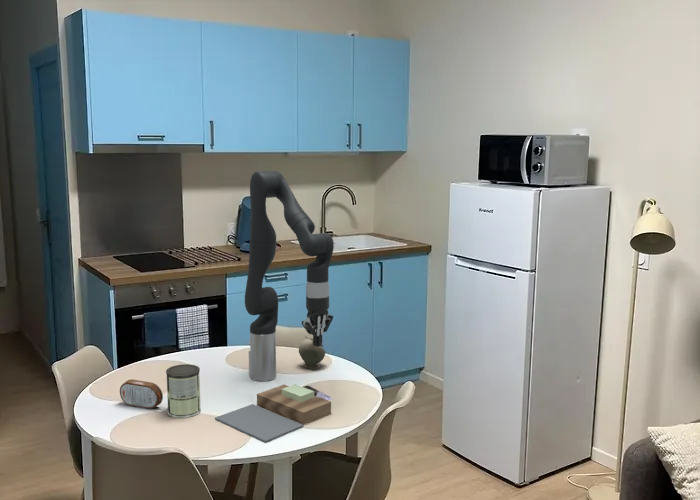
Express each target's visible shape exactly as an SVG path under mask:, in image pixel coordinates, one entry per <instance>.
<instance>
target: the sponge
mask: <svg viewBox="0 0 700 500" xmlns="http://www.w3.org/2000/svg"><path fill="white" fill-rule="evenodd" d="M288 386H289V387H286V388H284V389H282V395H283V396H285V397H288V398H291V399H293V400H296V401H299V402H303V401H306V400H308V399H311V398H314V391H312V390H309V389H307V388H304V387H303V386H301V385H298V384H292V385H288Z"/></svg>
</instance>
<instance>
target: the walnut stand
mask: <svg viewBox="0 0 700 500" xmlns="http://www.w3.org/2000/svg"><path fill="white" fill-rule="evenodd" d="M289 386H290V385H286V384H282V385H279V386H277V387H273V388H271V389H267V390H265V391H262V392H258V393H256V406H258V407H261V408H263V409H266V410H268V411H271V412H273V413H275V414H278V415H280V416H283V417H285V418H288V419H290V420H292V421H295V422H297V423H300V424H302V425H305V426H306V425H307V424H309V423H312V422H315V421H317V420H319V419H322V418H324V417H327V416H328V415H331V414H332V401H331V400H325V399H322V398H320V397H317V396H314V398H311V399H308V400H306V401H303V402H299V401H296V400H293V399H291V398H288V397H285V396H283V395H282V389H284V388H286V387H289Z"/></svg>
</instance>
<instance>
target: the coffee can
mask: <svg viewBox="0 0 700 500" xmlns="http://www.w3.org/2000/svg"><path fill="white" fill-rule="evenodd" d="M165 373H166V389H167V393H166V394H167V414H168V416H170V417H171V416H172V418H175V417H176V418H175V419H187V418H192V417H194V416H195V417H196V416H197V415H198V414H200V413H201V411H202V409H201V389H200V387H201V386H200V384H201V383H200V382H201V381H200V367H199V366H198V365H196V364H191V363H190V364H189V363H187V364H184V363H183V364H177V365H173V366H169V367H168V368H167V369H166V370H165Z"/></svg>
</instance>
